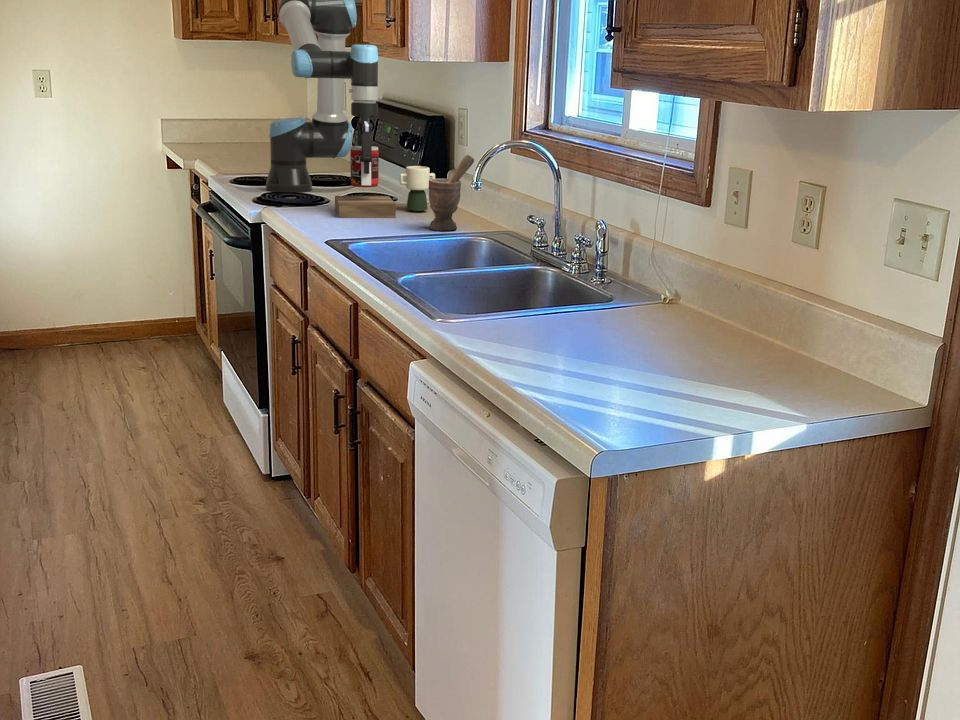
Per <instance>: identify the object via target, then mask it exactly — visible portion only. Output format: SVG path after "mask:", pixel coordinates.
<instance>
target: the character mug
mask: <svg viewBox="0 0 960 720" xmlns="http://www.w3.org/2000/svg"><path fill="white" fill-rule="evenodd" d="M430 177H431V179H436V174H435V173H434V172H431V173H430V167H428V166H422V165H420V166H419V165H411V166H409V165H408V166H405V172H404V173H400V174H399V185H400V186H405V188H406V189H407V190H409V192H408V195H407V201H406V210H411V212H412V211H413V212H414V211H417V212H423V211H427V210H428V199H427V198H428V197H427V193H426V192H425V191H427V190H429V179H430ZM404 178H405V181H404Z"/></svg>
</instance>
